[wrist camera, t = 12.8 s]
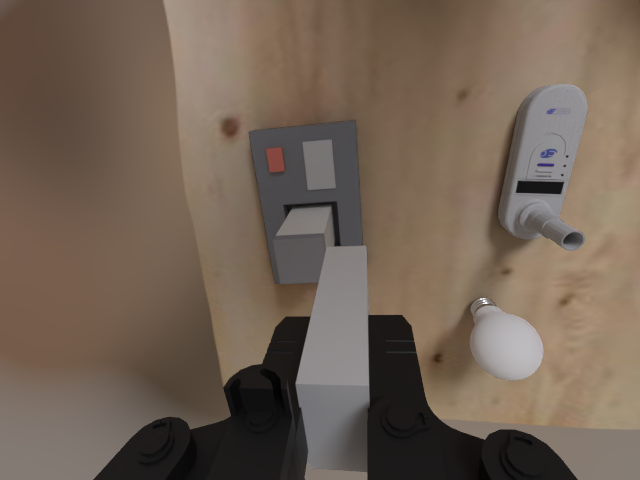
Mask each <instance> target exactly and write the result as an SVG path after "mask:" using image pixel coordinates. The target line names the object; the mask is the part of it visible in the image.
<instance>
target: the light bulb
mask: <svg viewBox="0 0 640 480" xmlns="http://www.w3.org/2000/svg"><path fill="white" fill-rule="evenodd" d="M470 311H471V314H472V316H473V320H474V324H475V326H474V328H473V330H472V332H471V335H470V348H471V352H472V355H473V357H474V359H475V360H476V362H477V363H478V365H479V366H480V367H481V368H482V369H483V370H484V371H486V372H487V373H489V374H490V375H492V376H494V377H496V378H499V379H503V380H509V381H515V380H521V379H524V378H526V377H529V376H530V375H532V374H533V373H534V372H535V371H536V370H537V369H538V367H539V366H540V364H541V362H542V358H543V345H542V341H541V339H540V336H539V335H538V333H537V332H536V330H535V329H534V328H533V327H532V326H531V325H530V324H529V323H528V322H527V321H525V320H523V319H522V318H520V317H518V316H515V315H512V314H508V313H504V312H503V311H502V310H501V309H499V308H498V307H497V306H496V304H495V303H494V302H493V301H492V299H489V298H479V299H477V300H475V301H474V302H473V303H472V305H471V308H470Z"/></svg>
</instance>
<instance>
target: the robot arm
mask: <svg viewBox="0 0 640 480" xmlns="http://www.w3.org/2000/svg"><path fill="white" fill-rule="evenodd" d="M224 392H225V395H226V399H227V402H228V406H229V409H230V413H231V417H229V418H227V419H226V420H223V421H220V422H217V423H214V424H210V425H206V426H203V427H199V428H195V429H191V430H190V429H189V426H188V424H187V422H185V421H184V420H182V419H180V418H176V417H175V418H174V417H166V418H162V419H159V420H155V421H154V422H152V423H150V424H148V425H146V426H144V427H143V428H142V429H141V430H139V431H138V432H137V433H136V434H135V435H134V436H133V437H132V438H131V439H130V440H129V441H128V442H127V443H126V444H125V445H124V447H123V448H122V449H121V450H120V451H119V452H118V453H117V454H116V455H115V456H114V458H113V459H112V460H111V461H110V462H109V463H108V464H107V465H106V466H105V467H104V469H103V470H102V471H101V472H100V473H99V474H98V475H97V476H96V477H95V479H94V480H305V478H304V476H305V469H306V463H307V457H308V463H309V468H312V469H328V470H344V471H360V472H361V471H362V472H367V473H368V480H577V478H576V477H575V476H574V474H573V473H572V472H571V471H570V469H569V468H568V467H567V465H566V464H565V463H564V462H563V460H562V459H561V458H560V457H559V456H558V455H557V454H556V453H555V452H554V451H553V450H552V449H551V448H550V447H549V446H548V445H547V444H546V443H544V442H542V441H541V440H539V439H537V438H536V437H534V436H532V435H530V434H527V433H524V432H521V431H517V430H498V431H496V432H493V433H491V434H489V435H488V437H487V438H486V439H485V440H484V439H480V438H478V437H475V436H471V435H469V434H466V433H463V432H460V431H458V430H456V429H453V428H451V427H449V426H448V425H446V424H445V423H443V422H442V421H441V420H440V419H439V418H438V417H437V416H436V415H435V414H434V413H433V412H432V410H431V409H430V407H429V406H428V403H427V400H426V397H425V392H424V387H423V382H422V377H421V372H420V367H419V362H418V357H417V354H416V347H415V342H414V337H413V332H412V327H411V325H410V324H409V323H408V322H407V320H406V319H405V318H404V317H403V316H402V315H369V298H368V273H367V249H366V246H340V247H327V248H326V252H325V257H324V261H323V266H322V270H321V274H320V279H319V283H318V287H317V292H316V296H315V301H314V305H313V309H312V314H311V317H285V318H284V319H283V320H282V321H281V322H280V323H279V324H278V325H277V326H276V327H275V330H274V333H273V336H272V338H271V343H270V344H269V347H268V349H267V353H266V355H265V358H264V360H263V363H262V364H259V365H252V366H249V367H247V368H244V369H242V370H240V371H239V372H237V373H236V374H235V375H233V376H232V377H231V378H230V379H229V380H228V382H227V383H226V385H225V386H224Z"/></svg>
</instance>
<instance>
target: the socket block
mask: <svg viewBox="0 0 640 480" xmlns="http://www.w3.org/2000/svg"><path fill="white" fill-rule="evenodd" d="M249 138H250V143H251V149H252V155H253V161H254V166H255V172H256V178H257V184H258V189H259V195H260V201H261V207H262V212H263V218H264V224H265V230H266V235H267V241H268V247H269V253H270V258H271V264H272V270H273V276H274V281H275V284H280V279H279V273H278V267H277V262H276V256H275V250H274V244H273V239H274V237H275V236H276V234H277V232H278V231H279V229H280V227H281V226H282V224H283V223H284V221H285V219H286V218H287V216H288V214H289V213H290V211H291V209H292V208H293V207H294V206H309V205H324V204H332V212H333V223H334V234H335V244H334V247H340V246H363V236H362V219H361V202H360V184H359V167H358V150H357V133H356V120H351V121H341V122H331V123H321V124H311V125H301V126H291V127H281V128H271V129H261V130H253V131H250V132H249Z"/></svg>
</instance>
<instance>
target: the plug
mask: <svg viewBox="0 0 640 480" xmlns="http://www.w3.org/2000/svg"><path fill="white" fill-rule="evenodd" d="M273 244H274V250H275V256H276V262H277V267H278V273H279V279H280V284H298V283H319V279H320V274H321V270H322V266H323V261H324V257H325V252H326V248H327V247H334V244H335V234H334V223H333V212H332V204H324V205H309V206H294V207H293V208H292V209H291V211H290V213H289V214H288V216H287V218H286V219H285V221H284V223H283V224H282V226H281V227H280V229H279V231H278V232H277V234H276V236H275V237H274V239H273Z"/></svg>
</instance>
